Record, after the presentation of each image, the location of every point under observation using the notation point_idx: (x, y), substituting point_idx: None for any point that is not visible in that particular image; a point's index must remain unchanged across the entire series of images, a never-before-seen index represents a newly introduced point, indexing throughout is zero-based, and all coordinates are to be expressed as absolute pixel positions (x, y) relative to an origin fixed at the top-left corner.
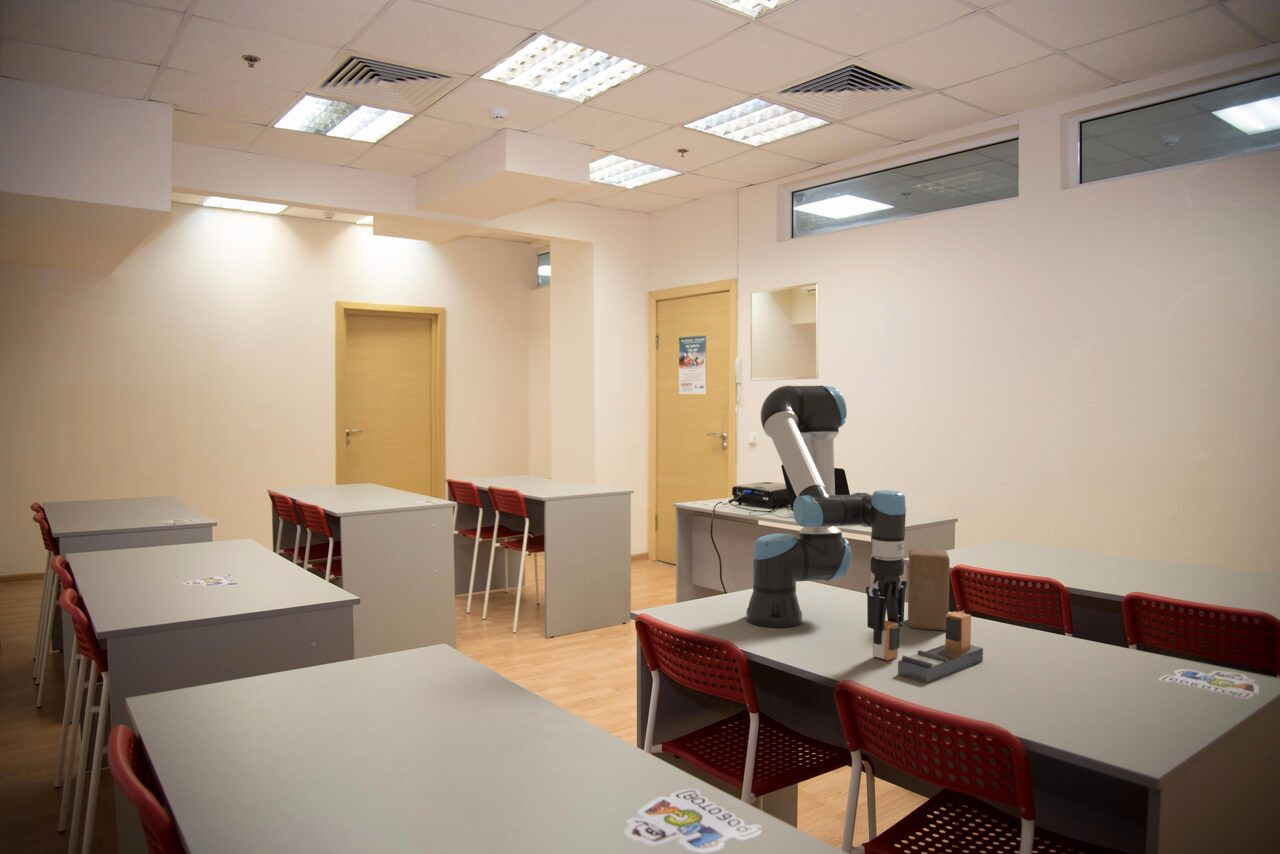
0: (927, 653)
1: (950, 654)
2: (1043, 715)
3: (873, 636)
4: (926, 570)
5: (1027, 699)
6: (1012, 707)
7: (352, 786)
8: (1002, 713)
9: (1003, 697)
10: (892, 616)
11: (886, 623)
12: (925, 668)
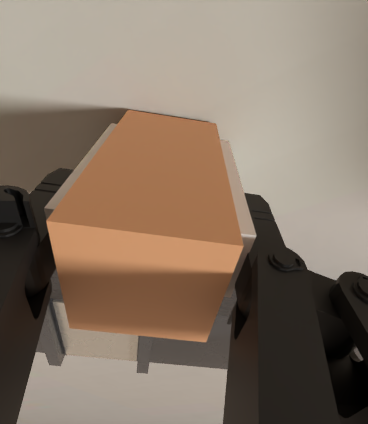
0: (139, 341)
1: (218, 354)
2: (90, 414)
3: (97, 153)
4: None
5: (135, 401)
6: (82, 397)
7: None
8: (45, 395)
9: (113, 388)
10: (238, 359)
11: (133, 300)
12: (37, 348)
